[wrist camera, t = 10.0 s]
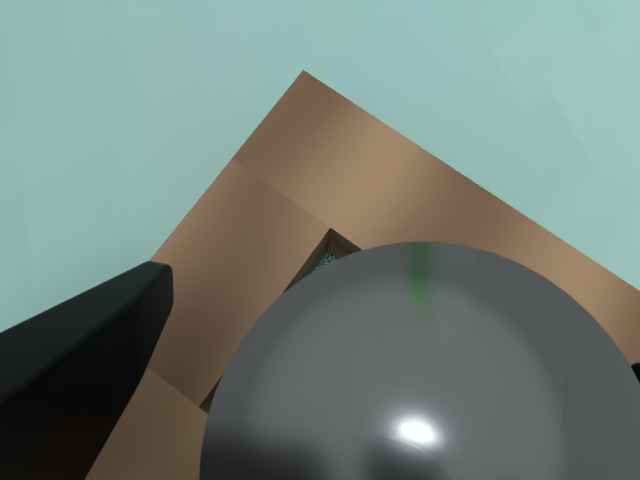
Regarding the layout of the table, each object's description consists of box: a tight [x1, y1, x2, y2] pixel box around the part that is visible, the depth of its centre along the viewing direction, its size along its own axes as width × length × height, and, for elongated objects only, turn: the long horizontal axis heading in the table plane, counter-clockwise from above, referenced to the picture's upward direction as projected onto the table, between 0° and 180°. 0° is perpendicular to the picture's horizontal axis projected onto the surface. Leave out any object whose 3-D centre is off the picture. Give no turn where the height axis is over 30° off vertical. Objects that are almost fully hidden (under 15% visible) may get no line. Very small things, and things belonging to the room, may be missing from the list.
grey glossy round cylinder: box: [199, 242, 640, 480], centre depth 11 cm, size 4×4×13 cm
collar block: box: [85, 70, 640, 480], centre depth 15 cm, size 14×14×4 cm
